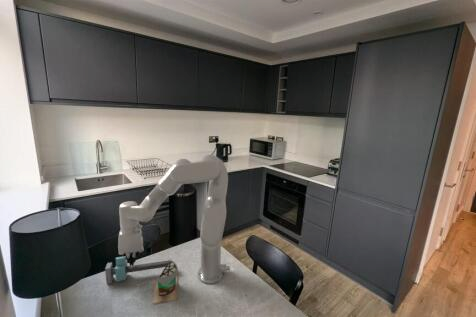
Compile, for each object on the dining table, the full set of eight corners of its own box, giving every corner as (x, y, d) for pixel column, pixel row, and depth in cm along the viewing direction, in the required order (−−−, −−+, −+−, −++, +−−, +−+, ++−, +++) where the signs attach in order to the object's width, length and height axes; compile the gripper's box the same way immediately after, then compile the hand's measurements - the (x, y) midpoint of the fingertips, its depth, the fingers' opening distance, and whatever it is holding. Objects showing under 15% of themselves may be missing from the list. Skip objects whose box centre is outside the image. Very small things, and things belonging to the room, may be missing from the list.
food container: (170, 300, 96) (170, 280, 94) (157, 298, 97) (156, 278, 95) (182, 279, 108) (182, 261, 106) (170, 277, 109) (169, 259, 107)
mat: (177, 277, 110) (176, 276, 110) (178, 299, 98) (178, 298, 98) (154, 281, 107) (154, 280, 107) (153, 304, 95) (153, 303, 95)
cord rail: (172, 268, 116) (172, 254, 115) (172, 273, 113) (172, 259, 111) (108, 277, 108) (107, 263, 106) (106, 284, 104) (105, 268, 103)
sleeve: (127, 271, 111) (126, 253, 109) (125, 279, 106) (124, 260, 103) (118, 272, 110) (117, 254, 107) (116, 281, 105) (114, 262, 102)
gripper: (148, 222, 109) (149, 256, 113) (113, 226, 105) (116, 260, 109) (146, 231, 102) (148, 266, 106) (109, 234, 98) (112, 271, 102)
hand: (132, 263), depth 108 cm, fingers closed
